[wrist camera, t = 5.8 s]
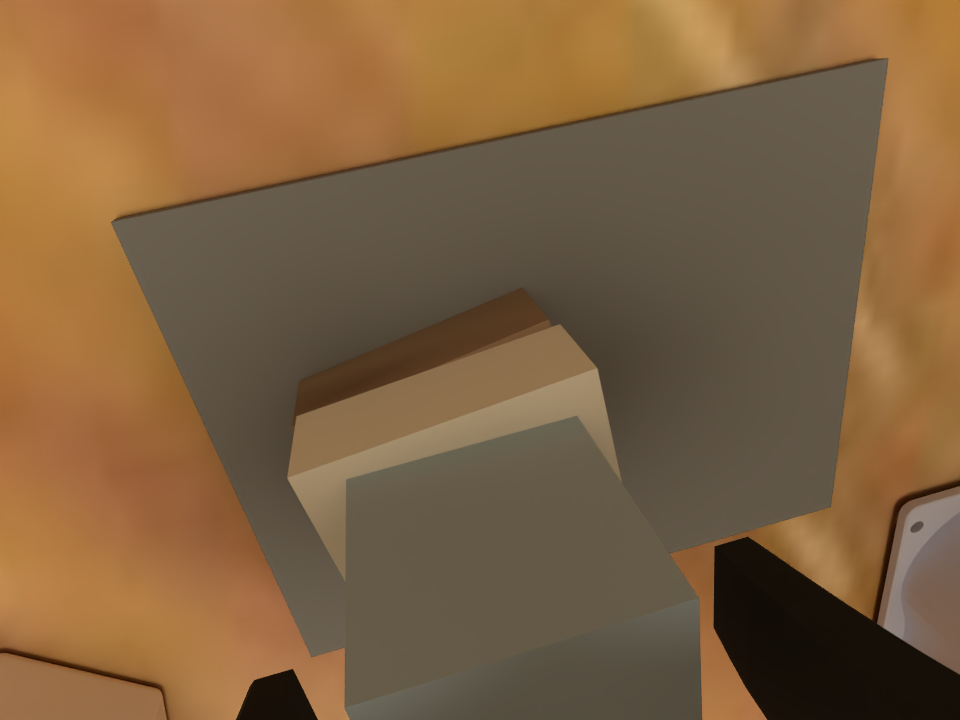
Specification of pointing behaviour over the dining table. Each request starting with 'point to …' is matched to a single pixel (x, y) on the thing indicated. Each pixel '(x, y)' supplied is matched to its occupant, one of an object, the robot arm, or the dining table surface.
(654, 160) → the felt mat
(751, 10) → the dining table surface
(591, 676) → the gray cube
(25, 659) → the jar
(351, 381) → the walnut slab
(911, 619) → the robot arm
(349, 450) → the cream slab
